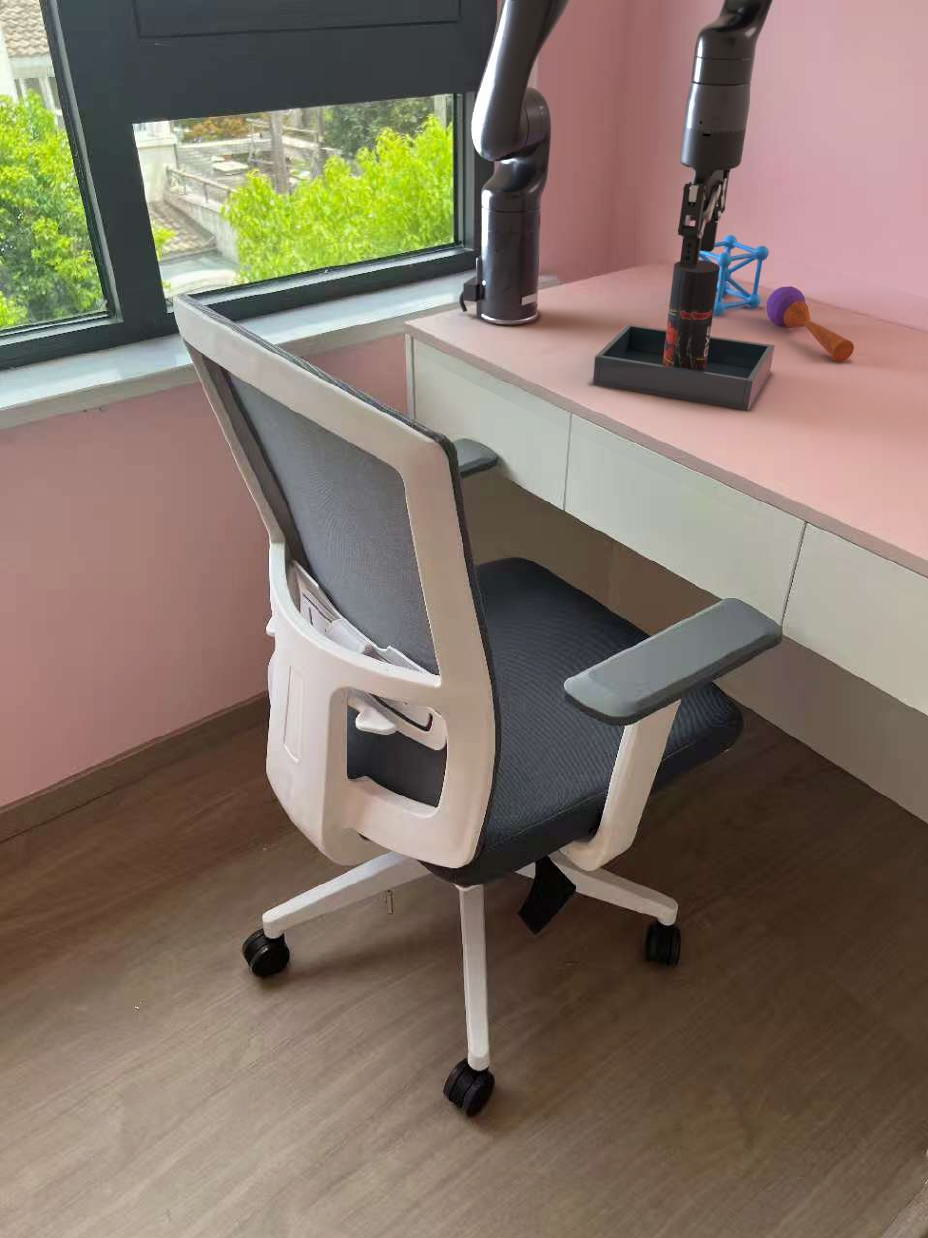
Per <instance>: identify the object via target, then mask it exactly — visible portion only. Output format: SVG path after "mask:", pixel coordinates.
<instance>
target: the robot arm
mask: <svg viewBox="0 0 928 1238" xmlns="http://www.w3.org/2000/svg"><path fill="white" fill-rule="evenodd" d="M773 1H774V0H723V2H722V7H721V9H720V12H719V14H718V16H717V18H716V19H715V20H713V21H712V22H710V23H708V24H706V25H705V26H703V27H702V28H701V29H700V30H699V31H698V33H697V36H696V40H695V45H694V54H693V61H692V62H693V63H692V70H691V78H690V79H691V81H690V86H689V90H688V94H687V98H686V102H685V103H686V104H685V110H684V111H685V112H684V119H683V127H682V137H681V144H680V145H681V146H680V153H679V162H680V164H681V165H682V166H683V167H686V168H691V169H693V171H694V172H693V176H692V181H689V182H688V183H685V184H684V186H683V189H682V190H683V192H682V202H681V208H680V216H679V222H678V227H677V235H678V236H681V237H682V242H681V249H680V250H681V251H680V259H679V261H680V266H681V267H682V268H688V269H695V268H696V267H697V266H698V261H699V260H700V257H699V253H700V251H706V252H711V253H712V252H713V250H714V249H715V247H714V246H715V243H716V239H717V232H718V225H719V222H720V221H721V219H722V214H724V213H725V211H726V202H727V201H726V200H727V193H728V186H729V180H730V173H731V170H732V169H736V168H737V167H739V166H740V165H741V163H742V159H743V151H744V145H745V137H746V132H747V124H748V119H749V112H750V105H751V104H750V103H751V84H752V83H751V82H752V80H753V79H752V77H753V70H754V65H755V59H756V58H755V57H756V50H757V49H756V48H757V43H758V40H759V37H760V35H761V33H762V30H763V29H764V28H763V27H764V26H765V23H766V20H767V17H768V14H769V12H770V9H771V7H772V3H773ZM569 3H570V0H501V2H500V5H499V6H500V7H499V11H498V15H497V20H496V23H495V28H494V32H493V33H494V34H493V37H492V42H491V46H490V50H489V52H488V53H489V54H488V57H487V60H486V64H485V67H484V69H483V74H482V76H481V80H480V83H479V86H478V89H477V93H476V97H475V100H474V103H473V108H472V112H471V117H470V118H471V119H470V133H471V135H470V136H471V140H472V144H473V146H474V149H475V150H476V152H477V154H478V156H480V157H481V158H482V159H484V160H486V161H489V162H498V165H497V167H496V170H495V172H494V173H493V174H492V176H491V177H490V178H489V179H488V180H487V181H486V182H485V183H484V184H483V186H482V188H481V195H480V196H481V197H480V199H481V200H480V201H481V226H480V227H481V229H480V230H481V235H480V237H481V241H480V243H481V249H480V250H481V251H480V252H481V254H480V255H479V256H477V257H476V261H475V263H476V264H475V274H476V275H474V276H473V277H471V278H470V279H468V280H467V281H465V282H464V283H462V289H463V290H462V291H461V293H460V294H459V298H458V303H459V306H460V309H461V310H462V312H463V313H466V312H468V309H467V306H466V304H465V302H473V303H475V307H476V308H475V317H476V318H477V319H482V320H484V321H486V322H487V323H492V324H495V325H505V326H514V325H523V324H527V323H530V322H533V321H535V320H536V319H537V318H538V317H539V316H538V315H539V310H538V307H539V306H538V305H539V302H538V300H539V298H538V297H539V273H540V247H541V245H540V244H541V220H542V219H541V217H542V215H541V214H542V213H541V212H542V198H543V193H544V191H545V189H546V187H547V182H548V176H549V165H550V152H551V140H552V116H551V111H550V107H549V104H548V101H547V99H546V98H545V96H544V95H543V94H542V92H541V91H539V90H538V89H536V88H535V87H532V86H529V82H530V78H531V75H532V72H533V69H534V67H535V66H534V65H535V63H536V61H537V59H538V57H539V55H540V53H541V51H542V49H543V48H544V46H545V44H546V43H547V41H548V39H550V36H551V35H552V33H553V31H554V30H555V28H556V27H557V25H558V24H559V22H560V20H561V18H562V16H563V15H564V13H565V11H566V10H567V7H568V6H569ZM691 222H694V225H690V224H691Z"/></svg>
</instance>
